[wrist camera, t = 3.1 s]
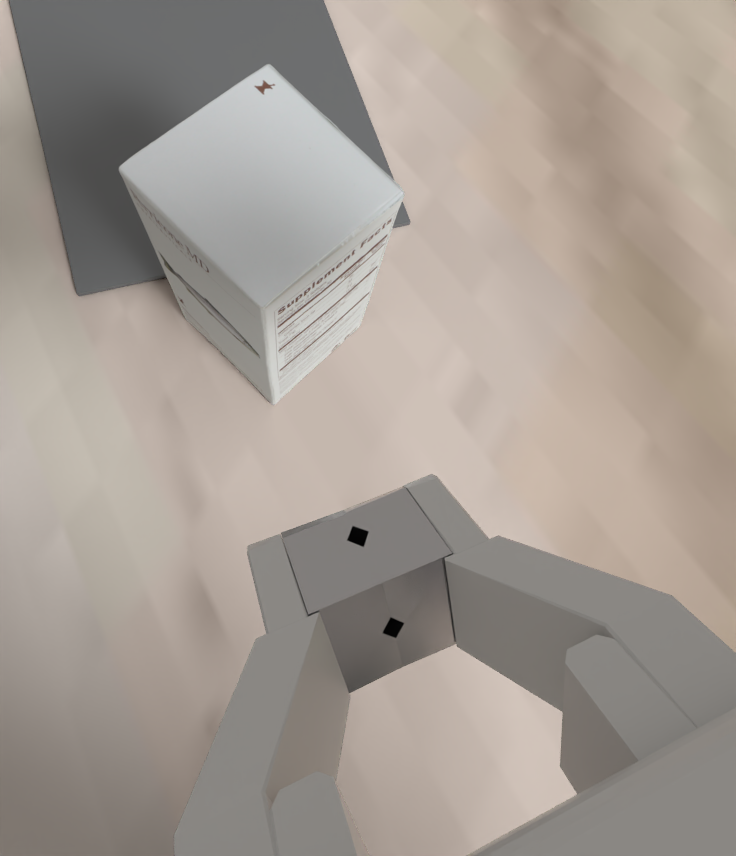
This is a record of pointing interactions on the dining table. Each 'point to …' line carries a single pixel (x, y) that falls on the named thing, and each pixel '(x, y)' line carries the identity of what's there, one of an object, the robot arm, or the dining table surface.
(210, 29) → the mat
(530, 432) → the dining table surface
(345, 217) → the supplement box
